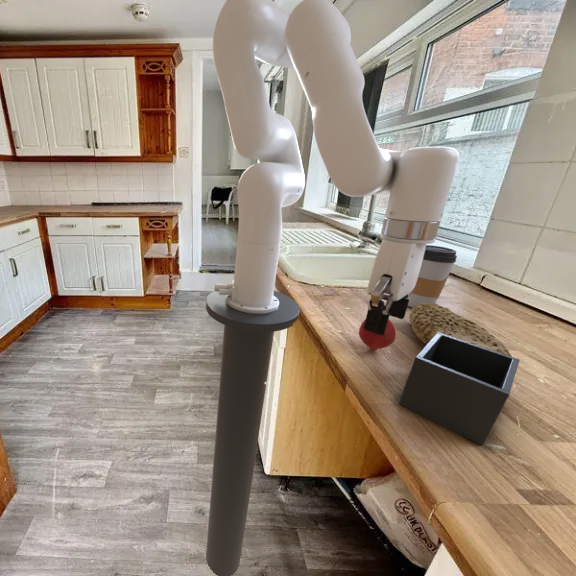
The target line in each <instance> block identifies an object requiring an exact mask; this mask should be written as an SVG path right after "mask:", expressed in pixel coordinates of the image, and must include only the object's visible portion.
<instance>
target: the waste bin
mask: <svg viewBox="0 0 576 576" xmlns="http://www.w3.org/2000/svg"><path fill="white" fill-rule="evenodd" d="M511 356H512V355H511ZM511 356H508V355H505V354H502V353H499V352H496V351H493V350H490V349H487V348H484V347H481V346H478V345H475V344H472V343H469V342H466V341H463V340H460V339H457V338H454V337H451V336H448V335H445V334H442V333H439V332H438V333H437V334H436V335H435V336H434V337H433V338H432V339H431V341H430V342H429V343H428V344H427V345H426V344H425V346H424V347H423V348H422V350H421V351H420V352H419V353H418V354H417V355H416V356H415V357H414V360H413V363H412V366H411V369H410V371H409V374H408V377H407V380H406V382H405V385H404V388H403V390H402V393H401V396H400V399H399V402H398V404H399V405H401V406H403V407H405V408H407V409H408V410H411V411H413V412H415V413H417V414H419V415H421V416H422V417H424V418H426V419H429V420H431V421H432V422H434V423H437V424H439V425H441V426H443V427H444V428H446V429H448V430H450V431H452V432H454V433H457V434H458V435H460V436H462V437H464V438H466V439H468V440H470V441H472V442H474V443H476V444H478V445H480V446H484V444H485V442H486V440H487V438H488V436H489V435H490V432H491V430H492V428H493V427H494V424H495V423H496V421H497V419H498V417H499V415H500V414H501V411H502V410H503V407H504V405H505V404H506V401H507V400H508V398H509V396H510V394H511V390H512V386H513V384H514V381H515V378H516V374H517V370H518V367H519V363H520V358H517V357H514V356H512V357H511Z"/></svg>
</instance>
